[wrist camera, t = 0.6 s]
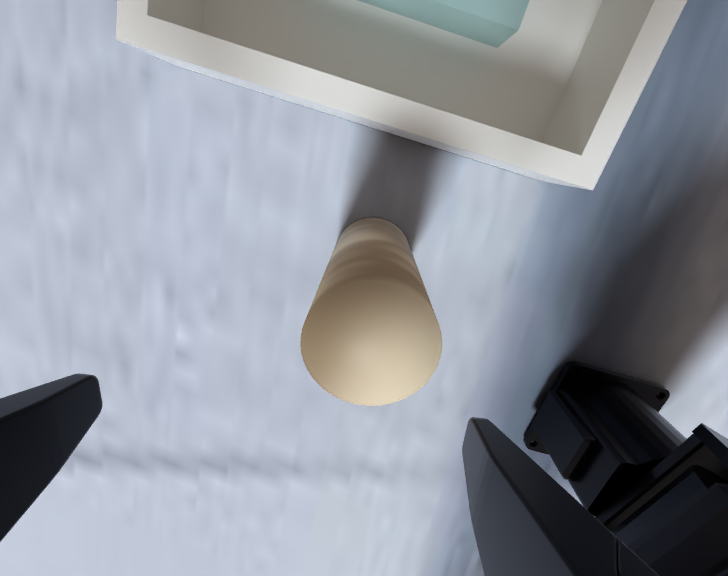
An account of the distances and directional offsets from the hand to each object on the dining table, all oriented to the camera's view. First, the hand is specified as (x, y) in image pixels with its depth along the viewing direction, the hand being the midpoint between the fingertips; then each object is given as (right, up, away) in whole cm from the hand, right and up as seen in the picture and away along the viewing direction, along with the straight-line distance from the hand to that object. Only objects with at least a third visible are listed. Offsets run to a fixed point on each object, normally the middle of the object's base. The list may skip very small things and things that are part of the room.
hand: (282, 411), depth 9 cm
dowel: (+2, +5, +11) cm, 12 cm away
